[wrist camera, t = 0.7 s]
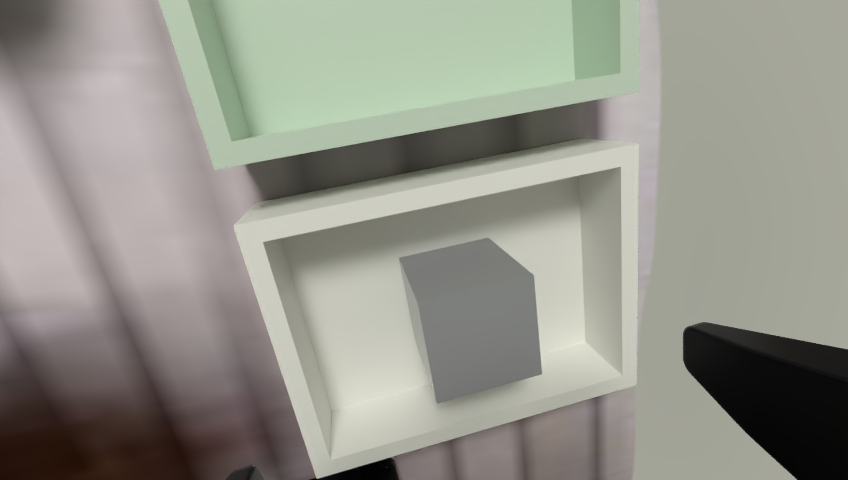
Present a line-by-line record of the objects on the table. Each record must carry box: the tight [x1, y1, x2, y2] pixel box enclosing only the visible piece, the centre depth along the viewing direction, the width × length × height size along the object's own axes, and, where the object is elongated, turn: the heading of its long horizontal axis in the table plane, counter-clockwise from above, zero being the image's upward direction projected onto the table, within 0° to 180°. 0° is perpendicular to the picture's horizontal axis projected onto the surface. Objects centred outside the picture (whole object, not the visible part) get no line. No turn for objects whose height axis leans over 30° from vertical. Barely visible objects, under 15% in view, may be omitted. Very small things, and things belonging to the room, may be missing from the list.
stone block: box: [399, 238, 542, 404], centre depth 18 cm, size 4×4×5 cm
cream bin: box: [233, 138, 639, 479], centre depth 19 cm, size 12×16×4 cm
